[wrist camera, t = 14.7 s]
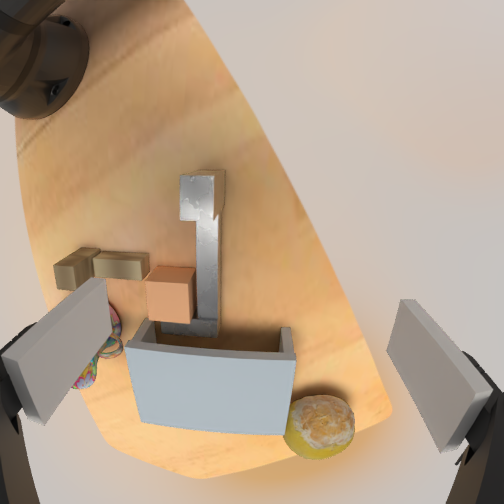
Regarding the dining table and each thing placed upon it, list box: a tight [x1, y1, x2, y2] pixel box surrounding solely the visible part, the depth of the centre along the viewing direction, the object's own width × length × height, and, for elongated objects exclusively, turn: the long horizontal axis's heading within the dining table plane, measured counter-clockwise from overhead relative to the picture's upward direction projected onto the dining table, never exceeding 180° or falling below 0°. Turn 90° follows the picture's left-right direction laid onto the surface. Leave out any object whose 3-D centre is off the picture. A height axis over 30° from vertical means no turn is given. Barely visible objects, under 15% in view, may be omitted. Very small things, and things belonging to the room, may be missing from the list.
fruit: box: [283, 395, 355, 460], centre depth 40 cm, size 10×11×10 cm
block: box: [145, 266, 197, 324], centre depth 37 cm, size 5×5×5 cm
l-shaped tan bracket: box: [53, 248, 150, 291], centre depth 36 cm, size 10×3×7 cm, turn 87°
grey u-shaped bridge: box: [124, 318, 296, 435], centre depth 39 cm, size 13×19×8 cm
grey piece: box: [161, 170, 225, 338], centre depth 34 cm, size 19×7×9 cm, turn 178°
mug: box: [71, 305, 123, 389], centre depth 37 cm, size 12×9×11 cm
